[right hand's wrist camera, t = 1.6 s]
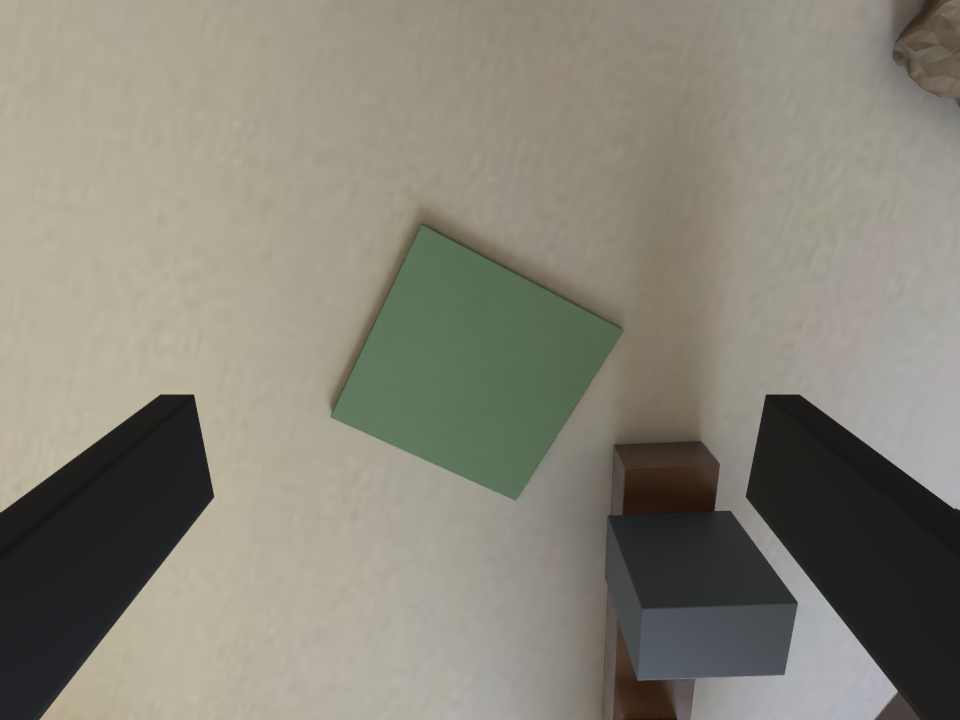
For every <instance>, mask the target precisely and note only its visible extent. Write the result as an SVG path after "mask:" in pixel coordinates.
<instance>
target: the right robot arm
mask: <svg viewBox="0 0 960 720" xmlns="http://www.w3.org/2000/svg"><path fill="white" fill-rule="evenodd" d="M213 498H214V493H213V488H212V483H211V478H210V473H209V468H208V463H207V458H206V453H205V448H204V443H203V438H202V433H201V428H200V423H199V418H198V413H197V408H196V402H195V397H194V395H159V396H158V397H157V398H155V399H154V400H153V401H151V402H150V403H149V404H147V405H146V406H144V407H143V408H142V409H140V410H139V411H138V412H136V413H135V414H134V415H132V416H131V417H130V418H128V419H127V420H126V421H124V422H123V423H122V424H120V425H119V426H117V427H116V428H115V429H113V430H112V431H111V432H109V433H108V434H107V435H105V436H104V437H103V438H101V439H100V440H99V441H97V442H96V443H94V444H93V445H92V446H90V447H89V448H88V449H86V450H85V451H84V452H82V453H81V454H80V455H78V456H77V457H76V458H74V459H73V460H71V461H70V462H69V463H67V464H66V465H65V466H63V467H62V468H61V469H59V470H58V471H57V472H55V473H54V474H53V475H51V476H50V477H49V478H47V479H46V480H44V481H43V482H42V483H40V484H39V485H38V486H36V487H35V488H34V489H32V490H31V491H30V492H28V493H27V494H26V495H24V496H23V497H21V498H20V499H19V500H17V501H16V502H15V503H13V504H12V505H11V506H9V507H8V508H7V509H5V510H4V511H2V512H0V720H39V719H40V718H41V717H42V716H43V714H44V713H45V712H46V711H47V709H48V708H49V707H50V705H51V704H52V703H53V702H54V700H55V699H56V698H57V697H58V695H59V694H60V693H61V691H62V690H63V689H64V688H65V686H66V685H67V684H68V683H69V681H70V680H71V679H72V677H73V676H74V675H75V674H76V672H77V671H78V670H79V669H80V667H81V666H82V665H83V663H84V662H85V661H86V660H87V658H88V657H89V656H90V654H91V653H92V652H93V651H94V649H95V648H96V647H97V646H98V644H99V643H100V642H101V640H102V639H103V638H104V637H105V635H106V634H107V633H108V632H109V630H110V629H111V628H112V626H113V625H114V624H115V623H116V621H117V620H118V619H119V618H120V616H121V615H122V614H123V612H124V611H125V610H126V609H127V607H128V606H129V605H130V604H131V602H132V601H133V600H134V598H135V597H136V596H137V595H138V593H139V592H140V591H141V590H142V588H143V587H144V586H145V584H146V583H147V582H148V581H149V579H150V578H151V577H152V576H153V574H154V573H155V572H156V570H157V569H158V568H159V567H160V565H161V564H162V563H163V562H164V560H165V559H166V558H167V556H168V555H169V554H170V553H171V551H172V550H173V549H174V547H175V546H176V545H177V544H178V542H179V541H180V540H181V539H182V537H183V536H184V535H185V533H186V532H187V531H188V530H189V528H190V527H191V526H192V525H193V523H194V522H195V521H196V519H197V518H198V517H199V516H200V514H201V513H202V512H203V511H204V509H205V508H206V507H207V505H208V504H209V503H210V502H211V500H212V499H213ZM746 498H747V499H748V500H749V502H750V503H751V504H752V505H753V507H754V508H755V509H756V511H757V512H758V513H759V514H760V516H761V517H762V518H763V519H764V521H765V522H766V523H767V525H768V526H769V527H770V528H771V530H772V531H773V532H774V533H775V535H776V536H777V537H778V539H779V540H780V541H781V542H782V544H783V545H784V546H785V547H786V549H787V550H788V551H789V553H790V554H791V555H792V556H793V558H794V559H795V560H796V562H797V563H798V564H799V565H800V567H801V568H802V569H803V570H804V572H805V573H806V574H807V576H808V577H809V578H810V579H811V581H812V582H813V583H814V584H815V586H816V587H817V588H818V590H819V591H820V592H821V593H822V595H823V596H824V597H825V598H826V600H827V601H828V602H829V604H830V605H831V606H832V607H833V609H834V610H835V611H836V612H837V614H838V615H839V616H840V618H841V619H842V620H843V621H844V623H845V624H846V625H847V626H848V628H849V629H850V630H851V632H852V633H853V634H854V635H855V637H856V638H857V639H858V640H859V642H860V643H861V644H862V646H863V647H864V648H865V649H866V651H867V652H868V653H869V654H870V656H871V657H872V658H873V660H874V661H875V662H876V663H877V665H878V666H879V667H880V669H881V670H882V671H883V672H884V674H885V675H886V676H887V677H888V679H889V680H890V681H891V683H892V684H893V685H894V686H895V688H896V689H897V690H898V691H899V693H900V694H901V695H902V697H903V698H904V699H905V700H906V702H907V703H908V704H909V705H910V707H911V708H912V709H913V711H914V712H915V713H916V714H917V716H918V717H919V718H920V719H921V720H960V510H958V509H953V508H952V507H951V506H949V505H948V504H947V503H945V502H944V501H943V500H941V499H940V498H939V497H937V496H936V495H934V494H933V493H932V492H930V491H929V490H928V489H926V488H925V487H924V486H922V485H921V484H920V483H918V482H917V481H916V480H914V479H913V478H911V477H910V476H909V475H907V474H906V473H905V472H903V471H902V470H901V469H899V468H898V467H897V466H895V465H894V464H893V463H891V462H890V461H889V460H887V459H886V458H884V457H883V456H882V455H880V454H879V453H878V452H876V451H875V450H874V449H872V448H871V447H870V446H868V445H867V444H866V443H864V442H863V441H861V440H860V439H859V438H857V437H856V436H855V435H853V434H852V433H851V432H849V431H848V430H847V429H845V428H844V427H843V426H841V425H840V424H838V423H837V422H836V421H834V420H833V419H832V418H830V417H829V416H828V415H826V414H825V413H824V412H822V411H821V410H820V409H818V408H817V407H816V406H814V405H813V404H811V403H810V402H809V401H807V400H806V399H805V398H803V397H802V396H801V395H766V397H765V402H764V408H763V413H762V418H761V423H760V428H759V433H758V438H757V443H756V448H755V453H754V458H753V463H752V468H751V473H750V478H749V483H748V488H747V493H746Z"/></svg>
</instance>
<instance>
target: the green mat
mask: <svg viewBox="0 0 960 720" xmlns="http://www.w3.org/2000/svg"><path fill="white" fill-rule="evenodd" d="M622 332H623V329H622V328H620V327H618V326H616V325H614V324H612V323H610V322H608V321H607V320H605V319H603V318H601V317H599V316H597V315H595V314H593V313H591V312H589V311H587V310H586V309H584V308H582V307H580V306H578V305H576V304H574V303H572V302H570V301H568V300H567V299H565V298H563V297H561V296H559V295H557V294H555V293H553V292H551V291H549V290H547V289H546V288H544V287H542V286H540V285H538V284H536V283H534V282H532V281H530V280H528V279H526V278H525V277H523V276H521V275H519V274H517V273H515V272H513V271H511V270H509V269H507V268H505V267H504V266H502V265H500V264H498V263H496V262H494V261H492V260H490V259H488V258H486V257H485V256H483V255H481V254H479V253H477V252H475V251H473V250H471V249H469V248H467V247H465V246H464V245H462V244H460V243H458V242H456V241H454V240H452V239H450V238H448V237H446V236H444V235H443V234H441V233H439V232H437V231H435V230H433V229H431V228H429V227H427V226H425V225H423V224H422V225H421V226H420V228H419V230H418V233H417V235H416V237H415V239H414V241H413V243H412V245H411V247H410V249H409V252H408V254H407V256H406V258H405V260H404V262H403V264H402V266H401V268H400V271H399V273H398V275H397V277H396V279H395V281H394V283H393V285H392V287H391V290H390V292H389V294H388V296H387V298H386V300H385V302H384V304H383V306H382V309H381V311H380V313H379V315H378V317H377V319H376V321H375V323H374V326H373V328H372V330H371V332H370V334H369V336H368V338H367V340H366V342H365V345H364V347H363V349H362V351H361V353H360V355H359V357H358V359H357V361H356V364H355V366H354V368H353V370H352V372H351V374H350V376H349V378H348V380H347V383H346V385H345V387H344V389H343V391H342V393H341V395H340V397H339V399H338V402H337V404H336V406H335V408H334V410H333V412H332V414H331V416H330V417H331V418H333V419H336V420H338V421H340V422H342V423H344V424H347V425H349V426H351V427H353V428H356V429H358V430H360V431H362V432H364V433H367V434H369V435H371V436H373V437H376V438H378V439H380V440H382V441H384V442H387V443H389V444H391V445H393V446H396V447H398V448H400V449H402V450H404V451H407V452H409V453H411V454H413V455H416V456H418V457H420V458H422V459H424V460H427V461H429V462H431V463H433V464H436V465H438V466H440V467H442V468H444V469H447V470H449V471H451V472H453V473H456V474H458V475H460V476H462V477H464V478H467V479H469V480H471V481H473V482H476V483H478V484H480V485H482V486H484V487H487V488H489V489H491V490H493V491H496V492H498V493H500V494H502V495H504V496H507V497H509V498H511V499H513V500H517V498H518V497H519V495H520V493H521V492H522V490H523V489H524V487H525V486H526V484H527V482H528V481H529V479H530V478H531V476H532V474H533V473H534V471H535V470H536V468H537V467H538V465H539V463H540V462H541V460H542V459H543V457H544V456H545V454H546V452H547V451H548V449H549V448H550V446H551V444H552V443H553V441H554V440H555V438H556V437H557V435H558V433H559V432H560V430H561V429H562V427H563V425H564V424H565V422H566V421H567V419H568V418H569V416H570V414H571V413H572V411H573V410H574V408H575V407H576V405H577V403H578V402H579V400H580V399H581V397H582V395H583V394H584V392H585V391H586V389H587V388H588V386H589V384H590V383H591V381H592V380H593V378H594V376H595V375H596V373H597V372H598V370H599V369H600V367H601V365H602V364H603V362H604V361H605V359H606V357H607V356H608V354H609V353H610V351H611V350H612V348H613V346H614V345H615V343H616V342H617V340H618V339H619V337H620V335H621V334H622Z"/></svg>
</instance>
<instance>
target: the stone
mask: <svg viewBox="0 0 960 720" xmlns="http://www.w3.org/2000/svg"><path fill="white" fill-rule="evenodd" d="M893 59H894V60H895V62H896V63H897V64H898V65H900V66H903V67H906V68H907V71H908V74H909V77H910V78H912V79H913V80H914V81H915V82H916V83H917V84H918V85H919V86H920V87H921V88H923V89H924V90H926V91H928V92H931V93H933V94H936V95H937V96H938V97H950V98H954V99H955V101H956V103H957V104H958V106H959V107H960V0H927V1H926V2H925V4H924V6H923V8H922V10H921V12H920V13H919V14H918V15H917V16H916V17H914V18H913V19H912V20H911V22H910V23H909V24H908V26H907V27H906V28H905V29H904V31H903V32H902V33H901V35H900V36H899V38H898V39H897V41H896V42H895V44H894V49H893Z"/></svg>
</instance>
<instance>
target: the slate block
mask: <svg viewBox="0 0 960 720" xmlns="http://www.w3.org/2000/svg"><path fill="white" fill-rule="evenodd" d="M605 578H606V582H607V585H608V588H609V591H610V595H611V598H612V601H613V604H614V607H615V611H616V614H617V617H618V620H619V624H620V627H621V630H622V633H623V636H624V640H625V643H626V646H627V649H628V653H629V656H630V659H631V662H632V665H633V669H634V672H635V675H636V678H637V680H660V679H689V678H717V677H746V676H774V675H784V674H785V668H786V663H787V658H788V652H789V647H790V642H791V636H792V631H793V626H794V621H795V615H796V610H797V605H798V603H797V601H796V599H795V598H794V597H793V595H792V594H791V593H790V591H789V590H788V588H787V587H786V586H785V584H784V583H783V582H782V580H781V579H780V578H779V576H778V575H777V574H776V572H775V571H774V569H773V568H772V567H771V565H770V564H769V563H768V561H767V560H766V559H765V557H764V556H763V554H762V553H761V552H760V550H759V549H758V548H757V546H756V545H755V544H754V542H753V541H752V540H751V538H750V537H749V535H748V534H747V533H746V531H745V530H744V529H743V527H742V526H741V525H740V523H739V522H738V520H737V519H736V518H735V516H734V515H733V514H732V512H731V511H709V512H683V513H658V514H632V515H608V517H607V541H606V566H605Z"/></svg>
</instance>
